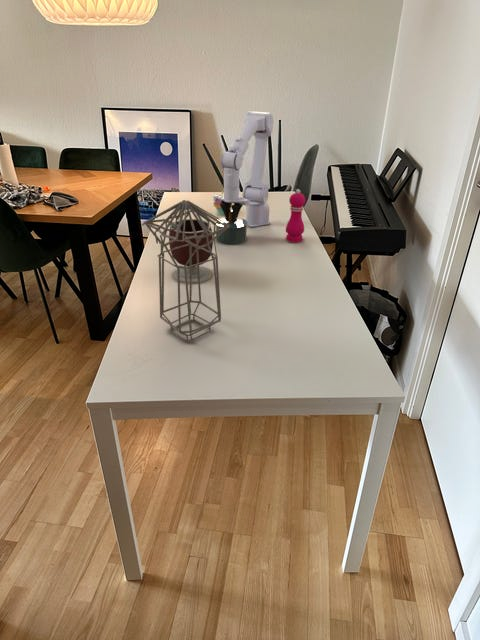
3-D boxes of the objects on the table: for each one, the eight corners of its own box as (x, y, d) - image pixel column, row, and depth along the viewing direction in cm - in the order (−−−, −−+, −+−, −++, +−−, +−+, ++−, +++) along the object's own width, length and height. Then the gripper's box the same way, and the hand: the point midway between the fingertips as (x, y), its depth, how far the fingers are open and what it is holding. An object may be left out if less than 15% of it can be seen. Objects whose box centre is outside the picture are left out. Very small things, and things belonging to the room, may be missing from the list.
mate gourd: (207, 264, 156) (206, 208, 146) (218, 281, 145) (217, 221, 134) (163, 269, 152) (158, 211, 142) (170, 287, 141) (166, 226, 130)
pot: (236, 232, 184) (237, 216, 181) (251, 241, 176) (252, 225, 172) (211, 236, 179) (210, 221, 176) (225, 246, 171) (225, 230, 167)
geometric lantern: (197, 311, 128) (192, 188, 110) (232, 333, 118) (233, 202, 100) (149, 330, 119) (135, 199, 101) (183, 356, 109) (175, 216, 91)
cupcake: (231, 217, 201) (232, 190, 195) (213, 216, 201) (212, 189, 195) (232, 211, 208) (232, 185, 202) (214, 210, 209) (213, 184, 202)
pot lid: (237, 218, 182) (237, 204, 179) (253, 227, 172) (253, 213, 169) (209, 222, 176) (209, 208, 173) (224, 232, 167) (224, 217, 164)
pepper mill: (282, 241, 177) (285, 190, 166) (289, 235, 182) (292, 185, 172) (299, 244, 174) (303, 192, 163) (305, 238, 179) (310, 188, 169)
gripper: (209, 185, 166) (209, 221, 173) (244, 191, 161) (243, 227, 168) (218, 181, 172) (218, 216, 179) (252, 186, 166) (251, 222, 173)
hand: (231, 221), depth 174 cm, fingers closed on pot lid, 2 cm apart
